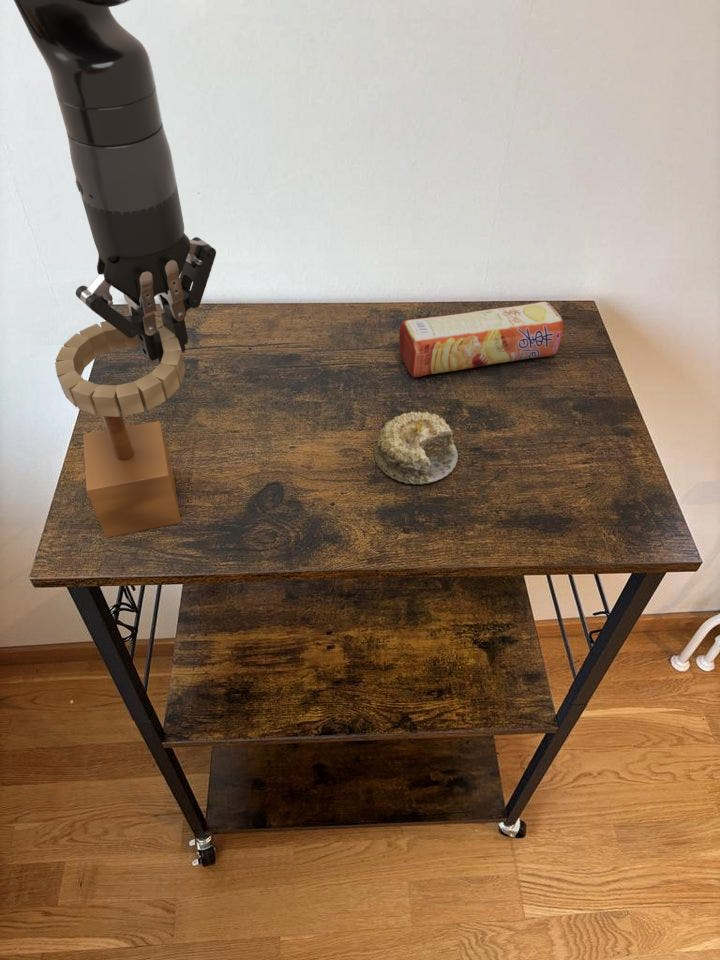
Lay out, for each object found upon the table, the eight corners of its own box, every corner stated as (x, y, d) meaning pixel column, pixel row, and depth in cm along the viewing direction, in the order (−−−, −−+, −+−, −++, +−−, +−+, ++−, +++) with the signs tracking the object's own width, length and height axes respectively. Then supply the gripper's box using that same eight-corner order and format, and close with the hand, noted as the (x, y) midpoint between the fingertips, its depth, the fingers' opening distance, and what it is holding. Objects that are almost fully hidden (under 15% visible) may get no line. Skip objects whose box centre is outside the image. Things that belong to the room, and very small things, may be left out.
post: (106, 538, 78) (63, 434, 66) (101, 483, 83) (61, 376, 71) (181, 522, 80) (153, 418, 68) (172, 469, 85) (145, 363, 73)
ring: (194, 340, 73) (190, 320, 71) (171, 419, 66) (166, 399, 64) (82, 335, 73) (75, 315, 71) (47, 414, 66) (38, 394, 64)
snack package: (540, 331, 103) (550, 290, 98) (559, 361, 99) (572, 320, 94) (395, 353, 99) (398, 312, 94) (409, 385, 95) (414, 344, 90)
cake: (360, 473, 86) (358, 440, 82) (393, 420, 92) (392, 387, 88) (440, 497, 83) (442, 464, 79) (469, 440, 89) (472, 406, 85)
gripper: (73, 233, 53) (126, 405, 67) (226, 173, 60) (246, 342, 73) (25, 194, 57) (84, 365, 70) (174, 141, 63) (203, 307, 76)
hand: (167, 352), depth 71 cm, fingers closed on ring, 1 cm apart
